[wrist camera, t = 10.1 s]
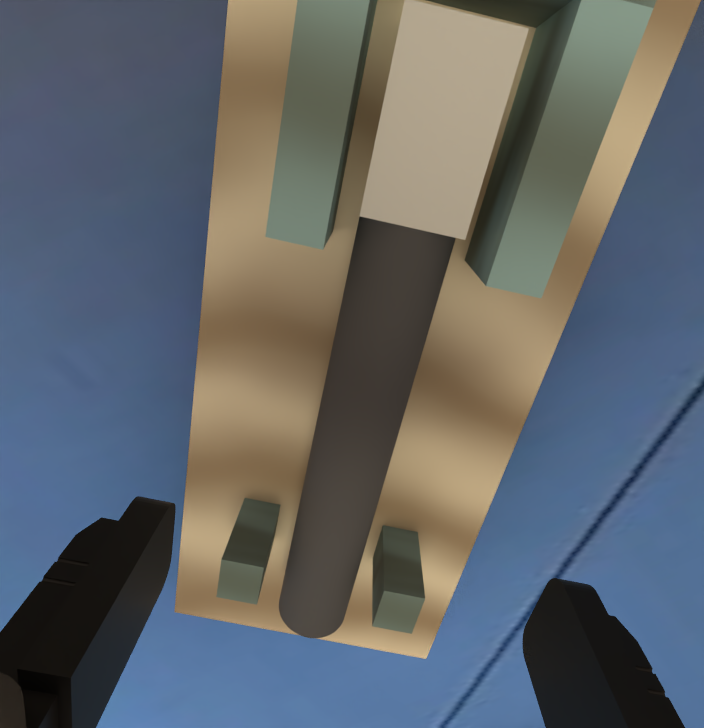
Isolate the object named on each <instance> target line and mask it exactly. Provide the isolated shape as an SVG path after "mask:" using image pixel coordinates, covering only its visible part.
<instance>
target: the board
mask: <svg viewBox="0 0 704 728" xmlns="http://www.w3.org/2000/svg"><path fill="white" fill-rule="evenodd" d="M404 1H405V0H228V10H227V21H226V33H225V44H224V56H223V67H222V78H221V90H220V101H219V112H218V124H217V135H216V147H215V158H214V169H213V181H212V192H211V204H210V215H209V226H208V238H207V249H206V260H205V272H204V283H203V295H202V306H201V317H200V329H199V340H198V352H197V363H196V374H195V386H194V397H193V408H192V420H191V431H190V443H189V454H188V465H187V477H186V488H185V500H184V511H183V522H182V534H181V545H180V556H179V568H178V579H177V591H176V602H175V612H177V613H183V614H188V615H193V616H199V617H204V618H210V619H215V620H220V621H226V622H231V623H236V624H242V625H247V626H253V627H258V628H263V629H269V630H274V631H279V632H285V633H290V634H296V635H299V634H297V633H295V632H293V631H292V630H291V629H290V628H288V627H287V625H286V624H285V623H284V622H283V620H282V618H281V616H280V612H279V599H280V594H281V589H282V585H283V580H284V575H285V570H286V566H287V561H288V556H289V551H290V546H291V542H292V537H293V532H294V527H295V523H296V518H297V513H298V508H299V503H300V499H301V494H302V489H303V484H304V480H305V475H306V470H307V465H308V460H309V456H310V451H311V446H312V441H313V437H314V432H315V427H316V422H317V418H318V413H319V408H320V403H321V398H322V394H323V389H324V384H325V379H326V375H327V370H328V365H329V360H330V355H331V351H332V346H333V341H334V336H335V332H336V327H337V322H338V317H339V312H340V308H341V303H342V298H343V293H344V289H345V284H346V279H347V274H348V269H349V265H350V260H351V255H352V250H353V246H354V241H355V236H356V231H357V226H358V222H359V217H360V211H361V206H362V202H363V197H364V192H365V187H366V182H367V178H368V173H369V168H370V163H371V159H372V154H373V149H374V144H375V139H376V135H377V130H378V125H379V120H380V116H381V111H382V106H383V101H384V96H385V92H386V87H387V82H388V77H389V73H390V68H391V63H392V58H393V53H394V49H395V44H396V39H397V34H398V30H399V25H400V20H401V15H402V10H403V6H404ZM415 1H419V2H423V3H427V4H431V5H435V6H439V7H443V8H448V9H452V10H456V11H460V12H464V13H468V14H472V15H476V16H480V17H484V18H488V19H492V20H496V21H500V22H504V23H508V24H513V25H517V26H521V27H525V28H529V30H528V34H527V37H526V40H525V44H524V47H523V50H522V54H521V57H520V60H519V64H518V67H517V70H516V73H515V77H514V80H513V83H512V87H511V90H510V93H509V97H508V100H507V103H506V107H505V110H504V113H503V116H502V120H501V123H500V126H499V130H498V133H497V136H496V140H495V143H494V146H493V150H492V153H491V156H490V160H489V163H488V166H487V169H486V173H485V176H484V179H483V183H482V186H481V189H480V193H479V196H478V199H477V203H476V206H475V209H474V213H473V216H472V219H471V222H470V226H469V229H468V232H467V236H466V239H465V240H463V239H459V238H456V239H455V243H454V246H453V249H452V253H451V256H450V260H449V263H448V266H447V270H446V273H445V277H444V280H443V283H442V287H441V290H440V294H439V297H438V301H437V304H436V307H435V311H434V314H433V318H432V321H431V324H430V328H429V331H428V335H427V338H426V341H425V345H424V348H423V352H422V355H421V358H420V362H419V365H418V369H417V372H416V375H415V379H414V382H413V386H412V389H411V392H410V396H409V399H408V403H407V406H406V410H405V413H404V416H403V420H402V423H401V427H400V430H399V433H398V437H397V440H396V444H395V447H394V450H393V454H392V457H391V461H390V464H389V467H388V471H387V474H386V478H385V481H384V484H383V488H382V491H381V495H380V498H379V501H378V505H377V508H376V512H375V515H374V519H373V522H372V525H371V529H370V532H369V536H368V539H367V542H366V546H365V549H364V553H363V556H362V559H361V563H360V566H359V570H358V573H357V576H356V580H355V583H354V587H353V590H352V593H351V597H350V600H349V604H348V607H347V610H346V614H345V617H344V621H343V623H342V624H341V626H340V627H339V628H338V629H337V630H336V631H335V632H334V633H332V634H331V635H328V636H326V637H322V638H317V639H322V640H328V641H333V642H339V643H344V644H349V645H355V646H360V647H365V648H371V649H376V650H382V651H387V652H392V653H398V654H403V655H408V656H414V657H419V658H425V659H426V658H427V655H428V653H429V651H430V648H431V646H432V643H433V641H434V639H435V636H436V634H437V631H438V629H439V627H440V624H441V622H442V619H443V617H444V615H445V612H446V610H447V607H448V605H449V603H450V600H451V598H452V595H453V593H454V591H455V588H456V586H457V583H458V581H459V579H460V576H461V574H462V572H463V569H464V567H465V564H466V562H467V560H468V557H469V555H470V552H471V550H472V548H473V545H474V543H475V540H476V538H477V536H478V533H479V531H480V528H481V526H482V524H483V521H484V519H485V516H486V514H487V512H488V509H489V507H490V504H491V502H492V500H493V497H494V495H495V492H496V490H497V488H498V485H499V483H500V480H501V478H502V476H503V473H504V471H505V468H506V466H507V464H508V461H509V459H510V457H511V454H512V452H513V449H514V447H515V445H516V442H517V440H518V437H519V435H520V433H521V430H522V428H523V425H524V423H525V421H526V418H527V416H528V413H529V411H530V409H531V406H532V404H533V401H534V399H535V397H536V394H537V392H538V389H539V387H540V385H541V382H542V380H543V377H544V375H545V373H546V370H547V368H548V365H549V363H550V361H551V358H552V356H553V354H554V351H555V349H556V346H557V344H558V342H559V339H560V337H561V334H562V332H563V330H564V327H565V325H566V322H567V320H568V318H569V315H570V313H571V310H572V308H573V306H574V303H575V301H576V298H577V296H578V294H579V291H580V289H581V286H582V284H583V282H584V279H585V277H586V274H587V272H588V270H589V267H590V265H591V262H592V260H593V258H594V255H595V253H596V250H597V248H598V246H599V243H600V241H601V239H602V236H603V234H604V231H605V229H606V227H607V224H608V222H609V219H610V217H611V215H612V212H613V210H614V207H615V205H616V203H617V200H618V198H619V195H620V193H621V191H622V188H623V186H624V183H625V181H626V179H627V176H628V174H629V171H630V169H631V167H632V164H633V162H634V159H635V157H636V155H637V152H638V150H639V147H640V145H641V143H642V140H643V138H644V136H645V133H646V131H647V128H648V126H649V124H650V121H651V119H652V116H653V114H654V112H655V109H656V107H657V104H658V102H659V100H660V97H661V95H662V92H663V90H664V88H665V85H666V83H667V80H668V78H669V76H670V73H671V71H672V68H673V66H674V64H675V61H676V59H677V56H678V54H679V52H680V49H681V47H682V44H683V42H684V40H685V37H686V35H687V32H688V30H689V28H690V25H691V23H692V21H693V18H694V16H695V13H696V11H697V9H698V6H699V4H700V1H701V0H415Z"/></svg>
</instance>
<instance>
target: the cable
mask: <svg viewBox="0 0 704 728" xmlns="http://www.w3.org/2000/svg"><path fill="white" fill-rule="evenodd" d="M528 30H529V28H525V27H521V26H517V25H513V24H508V23H504V22H500V21H496V20H492V19H488V18H484V17H480V16H476V15H472V14H468V13H464V12H460V11H456V10H452V9H448V8H443V7H439V6H435V5H431V4H427V3H423V2H419V1H415V0H405V1H404V6H403V10H402V15H401V20H400V25H399V30H398V34H397V39H396V44H395V49H394V53H393V58H392V63H391V68H390V73H389V77H388V82H387V87H386V92H385V96H384V101H383V106H382V111H381V116H380V120H379V125H378V130H377V135H376V139H375V144H374V149H373V154H372V159H371V163H370V168H369V173H368V178H367V182H366V187H365V192H364V197H363V202H362V206H361V211H360V217H359V222H358V226H357V231H356V236H355V241H354V246H353V250H352V255H351V260H350V265H349V269H348V274H347V279H346V284H345V289H344V293H343V298H342V303H341V308H340V312H339V317H338V322H337V327H336V332H335V336H334V341H333V346H332V351H331V355H330V360H329V365H328V370H327V375H326V379H325V384H324V389H323V394H322V398H321V403H320V408H319V413H318V418H317V422H316V427H315V432H314V437H313V441H312V446H311V451H310V456H309V460H308V465H307V470H306V475H305V480H304V484H303V489H302V494H301V499H300V503H299V508H298V513H297V518H296V523H295V527H294V532H293V537H292V542H291V546H290V551H289V556H288V561H287V566H286V570H285V575H284V580H283V585H282V589H281V594H280V599H279V612H280V616H281V618H282V620H283V622H284V623H285V624H286V625H287V627H288V628H290V629H291V630H292V631H293V632H295V633H297V634H299V635H301V636H304V637H308V638H322V637H326V636H328V635H331V634H332V633H334V632H335V631H336V630H337V629H338V628H339V627H340V626H341V624H342V623H343V621H344V617H345V614H346V610H347V607H348V604H349V600H350V597H351V593H352V590H353V587H354V583H355V580H356V576H357V573H358V570H359V566H360V563H361V559H362V556H363V553H364V549H365V546H366V542H367V539H368V536H369V532H370V529H371V525H372V522H373V519H374V515H375V512H376V508H377V505H378V501H379V498H380V495H381V491H382V488H383V484H384V481H385V478H386V474H387V471H388V467H389V464H390V461H391V457H392V454H393V450H394V447H395V444H396V440H397V437H398V433H399V430H400V427H401V423H402V420H403V416H404V413H405V410H406V406H407V403H408V399H409V396H410V392H411V389H412V386H413V382H414V379H415V375H416V372H417V369H418V365H419V362H420V358H421V355H422V352H423V348H424V345H425V341H426V338H427V335H428V331H429V328H430V324H431V321H432V318H433V314H434V311H435V307H436V304H437V301H438V297H439V294H440V290H441V287H442V283H443V280H444V277H445V273H446V270H447V266H448V263H449V260H450V256H451V253H452V249H453V246H454V243H455V239H456V238H459V239H463V240H465V239H466V236H467V232H468V229H469V226H470V222H471V219H472V216H473V213H474V209H475V206H476V203H477V199H478V196H479V193H480V189H481V186H482V183H483V179H484V176H485V173H486V169H487V166H488V163H489V160H490V156H491V153H492V150H493V146H494V143H495V140H496V136H497V133H498V130H499V126H500V123H501V120H502V116H503V113H504V110H505V107H506V103H507V100H508V97H509V93H510V90H511V87H512V83H513V80H514V77H515V73H516V70H517V67H518V64H519V60H520V57H521V54H522V50H523V47H524V44H525V40H526V37H527V34H528Z"/></svg>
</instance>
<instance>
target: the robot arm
mask: <svg viewBox="0 0 704 728" xmlns="http://www.w3.org/2000/svg"><path fill="white" fill-rule="evenodd" d="M174 521H175V504H174V503H170V502H165V501H160V500H154V499H149V498H144V497H139V496H138V497H136V498H135V499H134V500H133V501H132V502H131V504H130V505H129V507H128V508H127V509H126V511H125V512H124V514H123V515H122V517H121V518H120V520H119V521H117V520H112V519H106V518H100V519H99V520H97V521H96V522H94V523H93V524H91V525H90V526H88V527H87V528H85V529H84V530H82V531H81V532H79V533H78V534H76V535H75V537H74V538H73V539H72V541H71V542H70V543H69V544H68V546H67V547H66V548H65V550H64V551H63V552H62V553H61V555H60V556H59V558H58V561H57V562H55V563H54V564H53V565H52V566H51V568H50V569H49V570H48V572H47V573H46V574H45V575H44V578H43V580H42V582H39V583H38V584H37V586H36V587H35V588H34V590H33V591H32V592H31V593H30V595H29V596H28V597H27V599H26V600H25V601H24V602H23V604H22V605H21V606H20V608H19V609H18V610H17V611H16V613H15V614H14V615H13V617H12V618H11V619H10V621H9V622H8V623H7V624H6V626H5V627H4V628H3V630H2V631H1V632H0V728H96V726H97V724H98V722H99V720H100V718H101V716H102V714H103V712H104V710H105V708H106V705H107V703H108V701H109V699H110V697H111V695H112V693H113V691H114V689H115V687H116V685H117V682H118V680H119V678H120V676H121V674H122V672H123V670H124V668H125V666H126V664H127V662H128V660H129V657H130V655H131V653H132V651H133V649H134V647H135V645H136V643H137V641H138V639H139V637H140V634H141V632H142V630H143V628H144V626H145V624H146V622H147V620H148V618H149V616H150V614H151V612H152V609H153V607H154V605H155V603H156V601H157V599H158V597H159V595H160V593H161V591H162V588H163V586H164V583H165V581H166V577H167V574H168V571H169V567H170V562H171V555H172V544H173V533H174ZM523 653H524V658H525V662H526V665H527V668H528V671H529V675H530V678H531V681H532V684H533V688H534V691H535V694H536V697H537V701H538V704H539V707H540V710H541V714H542V717H543V720H544V723H545V727H546V728H685V727H684V725H683V723H682V721H681V720H680V718H679V716H678V714H677V712H676V710H675V709H674V707H673V705H672V703H671V701H670V700H669V698H667V697H665V691H664V689H663V687H662V685H661V683H660V682H659V680H658V678H657V676H656V674H653V673H652V667H651V665H650V663H649V662H648V660H647V658H646V656H645V654H644V653H643V651H642V649H641V647H640V645H639V643H638V642H637V640H636V639H635V638H634V637H633V636H632V635H631V634H630V633H629V632H628V630H627V629H626V628H625V627H624V626H623V625H622V624H621V623H620V621H619V620H618V619H617V618H616V617H615V616H610V615H608V613H607V611H606V609H605V607H604V605H603V603H602V601H601V600H600V598H599V596H598V594H597V592H596V590H595V589H594V588H593V587H592V586H590V585H588V584H583V583H578V582H572V581H567V580H562V579H557V578H553V579H551V580H550V581H549V582H548V583H547V585H546V587H545V589H544V591H543V593H542V595H541V597H540V598H539V600H538V602H537V604H536V606H535V608H534V610H533V612H532V614H531V616H530V618H529V620H528V622H527V624H526V626H525V629H524V633H523Z"/></svg>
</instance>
